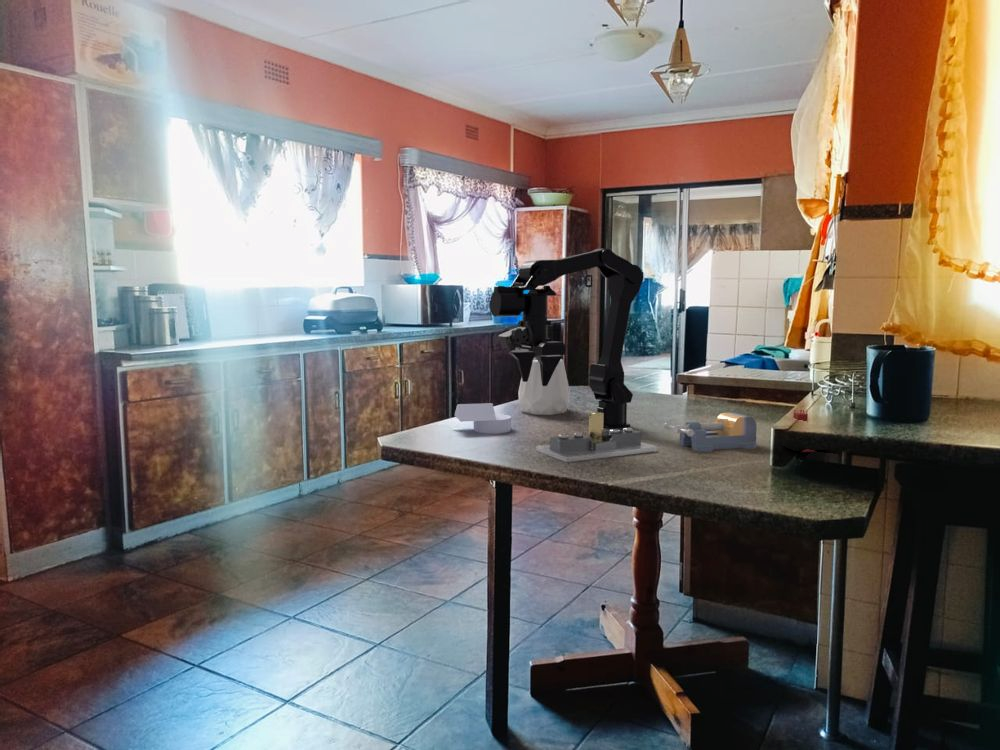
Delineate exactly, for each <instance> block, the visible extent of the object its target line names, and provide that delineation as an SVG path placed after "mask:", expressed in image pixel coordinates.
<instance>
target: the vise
mask: <svg viewBox="0 0 1000 750" xmlns="http://www.w3.org/2000/svg"><path fill="white" fill-rule="evenodd" d="M716 417H717V418H716V420H715V421H712V422H707V423H705V422H704V423H700V422H699V421H686V422H685V424H684V425H682V424H676V425H672V424H671V423H670V422H668V421H667V422H664V424H663V428H664V429H665V430H670V429H672V431H673V433H674V434H675V435H676V434H679V440H678V445H679V446H682V447H691V450H692V451H695V452H701V453H703V452H704V453H709V452H713V451H714V450H724V449H726V450H728V449H729V450H731V449H745V450H754V449H757V448H758V444H757V421H756V420H755V418H754V417H752V416H748V415H745V414H744V415H743V414H740V413H739V414H738V413H736V412H728V411H727V412H720V414H719V415H718V416H716Z"/></svg>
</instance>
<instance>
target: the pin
mask: <svg viewBox="0 0 1000 750" xmlns="http://www.w3.org/2000/svg"><path fill="white" fill-rule="evenodd" d="M603 417H604V413H602V412H597V411H591V412H588V436H589V437H592V447H593V442H602V441H603V432H604V427H603Z"/></svg>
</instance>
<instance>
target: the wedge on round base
mask: <svg viewBox="0 0 1000 750" xmlns="http://www.w3.org/2000/svg"><path fill="white" fill-rule="evenodd" d="M454 417H455V418H456V419H457V420H458V421H459V422H473V431H474V432H476V433H481V434H504V433H508V432H511V431H512V416H511V415H509V414H502V413H495V407H494V404H493V403H491V402H487V403H486V402H483V403H459V404H457V405H456V409H455V411H454Z"/></svg>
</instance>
